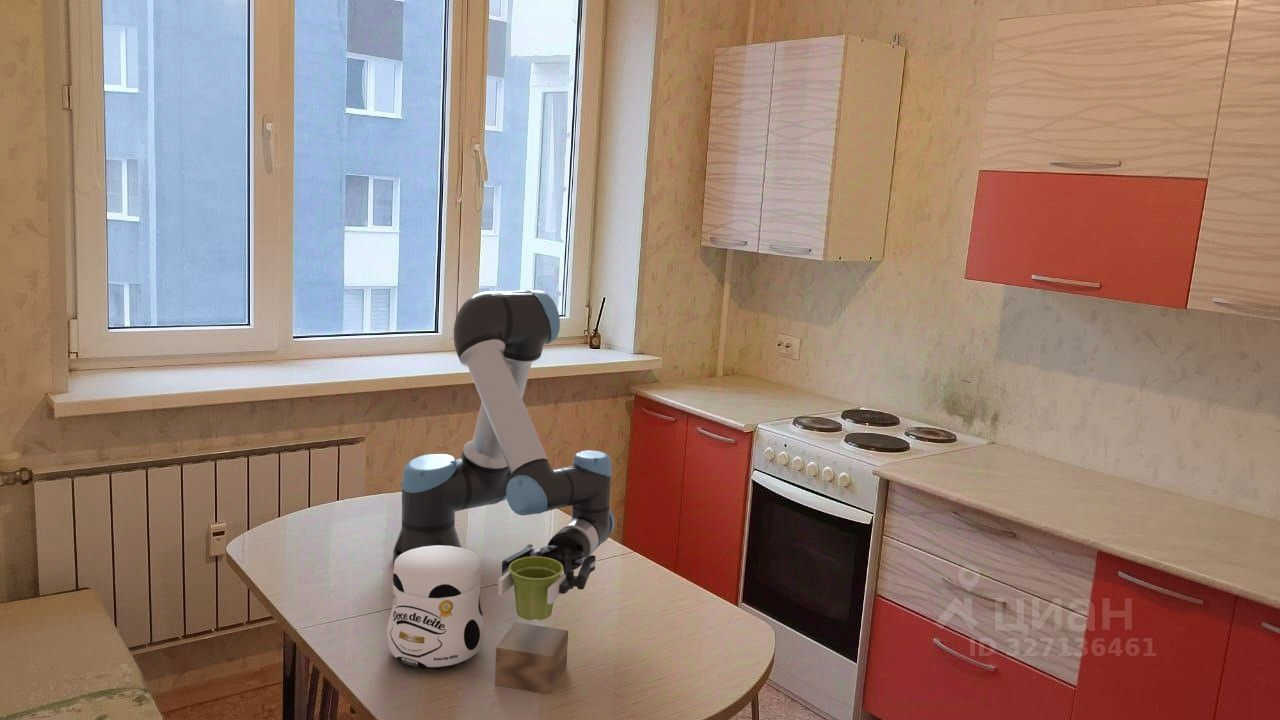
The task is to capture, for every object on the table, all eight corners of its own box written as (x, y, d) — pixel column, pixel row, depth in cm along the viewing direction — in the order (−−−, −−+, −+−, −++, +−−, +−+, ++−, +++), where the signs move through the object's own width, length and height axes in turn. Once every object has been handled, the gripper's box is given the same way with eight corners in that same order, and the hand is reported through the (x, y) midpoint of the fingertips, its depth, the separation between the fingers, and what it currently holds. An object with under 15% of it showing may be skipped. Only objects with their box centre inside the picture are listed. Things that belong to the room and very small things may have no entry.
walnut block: (494, 684, 168) (496, 647, 167) (514, 657, 178) (515, 622, 176) (550, 694, 166) (551, 656, 165) (566, 666, 176) (568, 630, 174)
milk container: (388, 682, 167) (389, 584, 163) (385, 635, 183) (386, 545, 180) (489, 673, 172) (492, 578, 168) (477, 628, 188) (480, 540, 185)
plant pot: (572, 611, 171) (574, 565, 169) (538, 631, 163) (540, 582, 161) (530, 597, 176) (532, 552, 174) (496, 615, 168) (497, 568, 166)
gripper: (624, 573, 183) (582, 623, 162) (521, 555, 189) (467, 601, 167) (626, 535, 182) (584, 581, 160) (522, 518, 187) (468, 560, 166)
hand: (524, 591), depth 164 cm, fingers closed on plant pot, 8 cm apart
